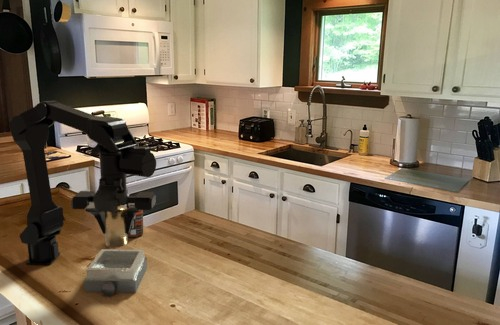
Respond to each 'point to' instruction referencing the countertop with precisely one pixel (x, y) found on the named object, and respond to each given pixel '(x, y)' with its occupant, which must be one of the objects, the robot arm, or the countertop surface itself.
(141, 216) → the supplement bottle
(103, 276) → the grey open box
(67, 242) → the countertop surface
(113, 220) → the spout can
